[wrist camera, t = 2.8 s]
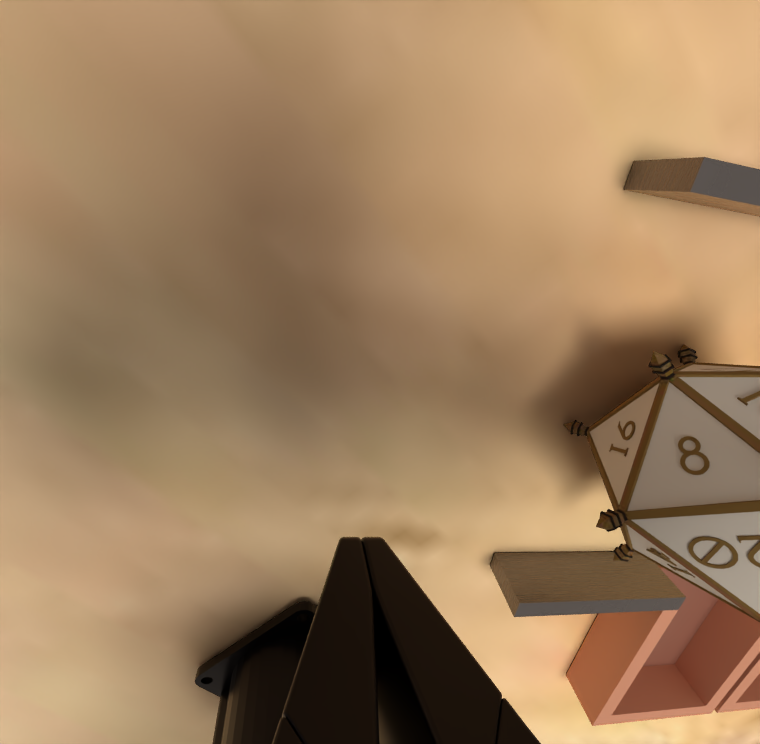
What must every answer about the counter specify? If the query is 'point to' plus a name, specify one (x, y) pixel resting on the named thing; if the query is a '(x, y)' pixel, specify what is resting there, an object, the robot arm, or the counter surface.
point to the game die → (687, 475)
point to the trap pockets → (668, 661)
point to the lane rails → (639, 575)
